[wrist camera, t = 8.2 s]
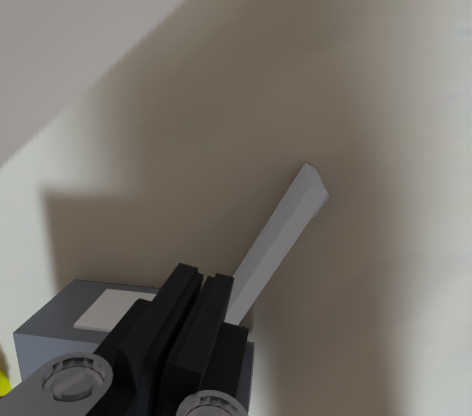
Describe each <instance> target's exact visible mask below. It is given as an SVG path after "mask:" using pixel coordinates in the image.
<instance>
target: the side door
mask: <svg viewBox="0 0 472 416" xmlns="http://www.w3.org/2000/svg"><path fill="white" fill-rule="evenodd" d="M329 198H330V197H329V195H328V193H327V190H326V189H325V187H324V184H323V182H322V180H321V177H320V175H319V172H318V170H317V169H316V168H314V167H312V166H311V165H309V164H307V163H306V162H305V163H304V165H303V166H302V168H301V170H300V171H299V173H298V174H297V176H296V177H295V179H294V181H293V182H292V184H291V185H290V187H289V188H288V190H287V192H286V193H285V195H284V196H283V198H282V199H281V201H280V203H279V204H278V206H277V207H276V209H275V210H274V212H273V214H272V215H271V217H270V218H269V220H268V221H267V223H266V225H265V226H264V228H263V229H262V231H261V232H260V234H259V236H258V237H257V239H256V240H255V242H254V243H253V245H252V247H251V248H250V250H249V251H248V253H247V254H246V256H245V258H244V259H243V261H242V262H241V264H240V265H239V267H238V269H237V270H236V272H235V273H234V275H233V276H232V277H234V283H233V287H232V292H231V296H230V300H229V304H228V308H227V313H226V317H225V321H224V322H227V323H231V324H234V325H239V323H240V322H241V320H242V319H243V317H244V316H245V314H246V313H247V312H248V310H249V309H250V307H251V306H252V304H253V303H254V301H255V300H256V298H257V297H258V295H259V294H260V293H261V291H262V290H263V288H264V287H265V285H266V284H267V282H268V281H269V279H270V278H271V276H272V275H273V274H274V272H275V271H276V269H277V268H278V266H279V265H280V263H281V262H282V260H283V259H284V257H285V256H286V255H287V253H288V252H289V250H290V249H291V247H292V246H293V244H294V243H295V241H296V240H297V238H298V237H299V236H300V234H301V233H302V231H303V230H304V228H305V227H306V225H307V224H308V222H309V221H310V219H311V218H312V217H315V218H316V217H317V215H318V214H319V212H320V211H321V209H322V208H323V206H324V205H325V204H326V202H327V201H328V199H329Z"/></svg>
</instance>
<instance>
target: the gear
mask: <svg viewBox="0 0 472 416" xmlns="http://www.w3.org/2000/svg"><path fill="white" fill-rule="evenodd" d="M11 390H12V389H11V385H10V382H9V380H8V378H7V377H6V375H5V374H4V373H3V371H2V370H1V369H0V397H1V396H4V395H6V394H7V393H9V392H10V391H11Z"/></svg>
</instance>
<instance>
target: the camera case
mask: <svg viewBox="0 0 472 416" xmlns="http://www.w3.org/2000/svg"><path fill="white" fill-rule="evenodd" d="M159 290H160V289H157V288H148V287H138V286H129V285H119V284H109V283H100V282H90V281H81V280H74V281H72V282H71V283H70V284H69V285H68V286H67V287H66V288H64V289H63V290H62V291H61V292H60V293H59V294H57V295H56V296H55V297H54V298H53V299H52V300H50V301H49V302H48V303H47V304H46V305H45V306H43V307H42V308H41V309H40V310H39V311H38V312H37V313H35V314H34V315H33V316H32V317H31V318H30V319H28V320H27V321H26V322H25V323H24V324H23V325H21V326H20V327H19V328H18V329H17V330H16V331H15V332H13V337H14V342H15V347H16V352H17V358H18V363H19V368H20V373H21V379H22V381H24V380H25V379H26V378H27V377H29V376H30V375H31V374H32V373H34V372H35V371H36V370H37V369H39V368H40V367H41V366H43V365H44V364H45V363H47V362H48V361H50V360H52V359H53V358H55V357H58V356H61V355H64V354H67V353H74V352H88V353H92V354H93V352H94V351H95V350H96V349H97V348H98V346H99V345H100V344H101V343H102V341H103V340H104V339H105V338H106V337H107V335H108V334H109V333H110V332H111V330H112V329H113V328H114V327H115V326H116V324H117V323H118V322H119V321H120V320H121V318H122V317H123V316H124V315H125V313H126V312H127V311H128V310H129V309H130V307H131V306H132V305H133V304H134V302H135V301H136V300H137V299H139V298H141V299H145V300H149V301H152V300H153V298H154V297H155V296H156V294H157V293H158V292H159ZM238 326H239V325H238ZM253 363H254V342H246V347H245V352H244V357H243V362H242V368H241V373H240V378H239V383H238V388H237V394H236V400H237V401H238V402H239V403H240V404H241V405H242V406H243V407H244V409H245V410H246V412H247V414H248V411H249V404H250V396H251V386H252V375H253Z"/></svg>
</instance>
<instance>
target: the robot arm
mask: <svg viewBox="0 0 472 416" xmlns="http://www.w3.org/2000/svg"><path fill="white" fill-rule="evenodd" d="M202 281H203V274H200V273H198V268H196V267H193V266H189V265H185V264H182V263H180V264H179V265H178V266H177V267H176V269H175V270H174V271H173V273H172V274H171V275H170V277H169V278H168V279H167V281H166V282H165V284H164V285H163V286H162V288H161V289H160V290H159V292H158V293H157V294H156V296H155V297H154V298H153V300H152V301H149V300H145V299H141V298H139V299H137V300H136V301H135V302H134V304H133V305H132V306H131V307H130V309H129V310H128V311H127V312H126V313H125V315H124V316H123V317H122V318H121V320H120V321H119V322H118V323H117V324H116V326H115V327H114V328H113V329H112V330H111V332H110V333H109V334H108V335H107V337H106V338H105V339H104V340H103V341H102V343H101V344H100V345H99V346H98V348H97V349H96V350H95V351H94V352H93V354H92V353H88V352H74V353H67V354H64V355H61V356H58V357H55V358H53V359H52V360H50V361H48V362H47V363H45V364H44V365H43V366H41V367H40V368H39V369H37V370H36V371H35V372H34V373H32V374H31V375H30V376H29V377H27V378H26V379H25V380H24V381H22V382H21V383H20V384H19V385H17V386H16V387H15V388H14V389H12V390H11V391H10V392H9V393H7V394H6V395H4V396H1V397H0V416H248V414H247V412H246V410H245V409H244V407H243V406H242V405H241V404H240V403H239V402H238V401H237V400H236V394H237V388H238V383H239V378H240V373H241V368H242V362H243V357H244V352H245V347H246V342H247V336H248V331H249V329H248V328H245V327H241V326H238V325H234V324H231V323H227V322H224V321H225V317H226V313H227V308H228V304H229V300H230V296H231V292H232V287H233V283H234V277H230V276H226V275H222V274H219V273H217V274H216V276H215V277H211V276H208V278H207V280H206V282H205V284H204V286H203V288H202V290H201V286H202ZM200 291H201V292H200Z"/></svg>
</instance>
